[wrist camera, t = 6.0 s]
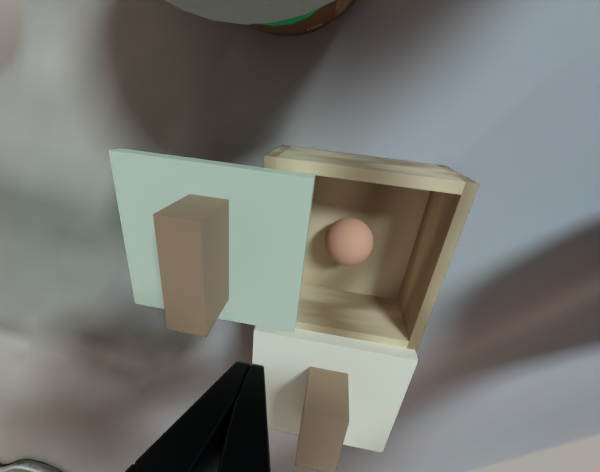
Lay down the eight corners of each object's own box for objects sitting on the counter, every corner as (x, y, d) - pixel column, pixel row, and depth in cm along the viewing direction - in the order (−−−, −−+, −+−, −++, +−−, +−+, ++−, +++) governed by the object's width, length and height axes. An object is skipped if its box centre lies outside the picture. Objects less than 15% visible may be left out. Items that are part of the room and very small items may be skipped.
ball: (375, 214, 18) (381, 232, 16) (366, 255, 19) (369, 278, 17) (329, 208, 18) (327, 224, 16) (322, 248, 20) (319, 270, 17)
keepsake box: (446, 166, 17) (479, 183, 13) (374, 391, 25) (380, 445, 21) (282, 145, 18) (264, 155, 14) (265, 370, 26) (250, 418, 22)
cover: (315, 174, 14) (306, 196, 10) (296, 323, 17) (285, 375, 14) (120, 148, 14) (49, 160, 11) (143, 295, 18) (97, 339, 15)
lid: (413, 344, 17) (433, 410, 14) (380, 434, 21) (388, 506, 17) (259, 316, 18) (237, 371, 14) (254, 408, 22) (235, 471, 18)
